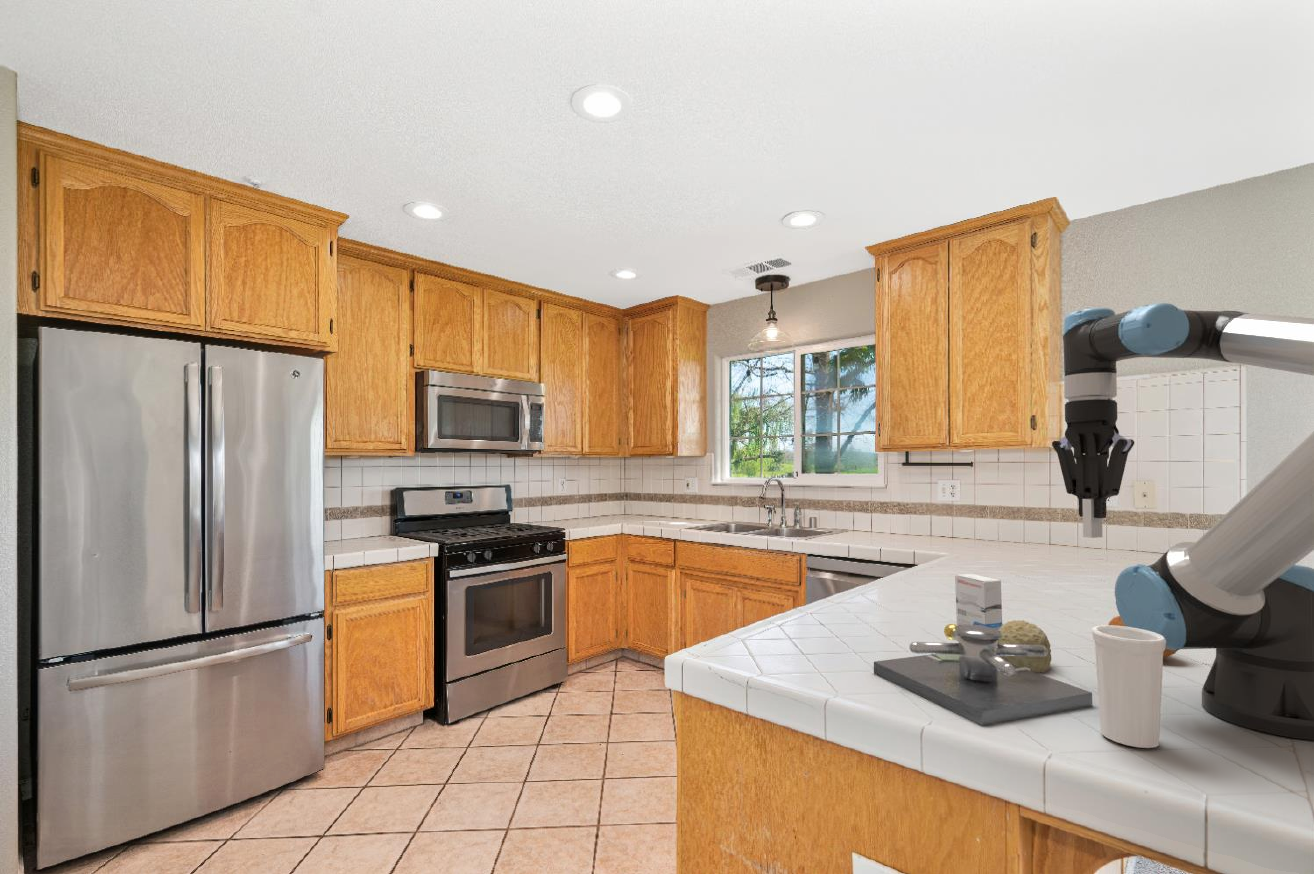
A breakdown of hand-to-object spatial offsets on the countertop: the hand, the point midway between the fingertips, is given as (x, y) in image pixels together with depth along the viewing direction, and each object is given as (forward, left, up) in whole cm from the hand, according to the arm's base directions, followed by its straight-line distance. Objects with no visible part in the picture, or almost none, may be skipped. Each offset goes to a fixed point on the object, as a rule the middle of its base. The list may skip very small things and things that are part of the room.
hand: (1092, 536), depth 109 cm
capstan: (+3, +23, -22) cm, 32 cm away
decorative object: (+10, +5, -25) cm, 27 cm away
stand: (+3, +23, -24) cm, 33 cm away
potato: (+6, -22, -25) cm, 34 cm away
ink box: (+30, -6, -25) cm, 39 cm away
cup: (-18, +19, -25) cm, 36 cm away
